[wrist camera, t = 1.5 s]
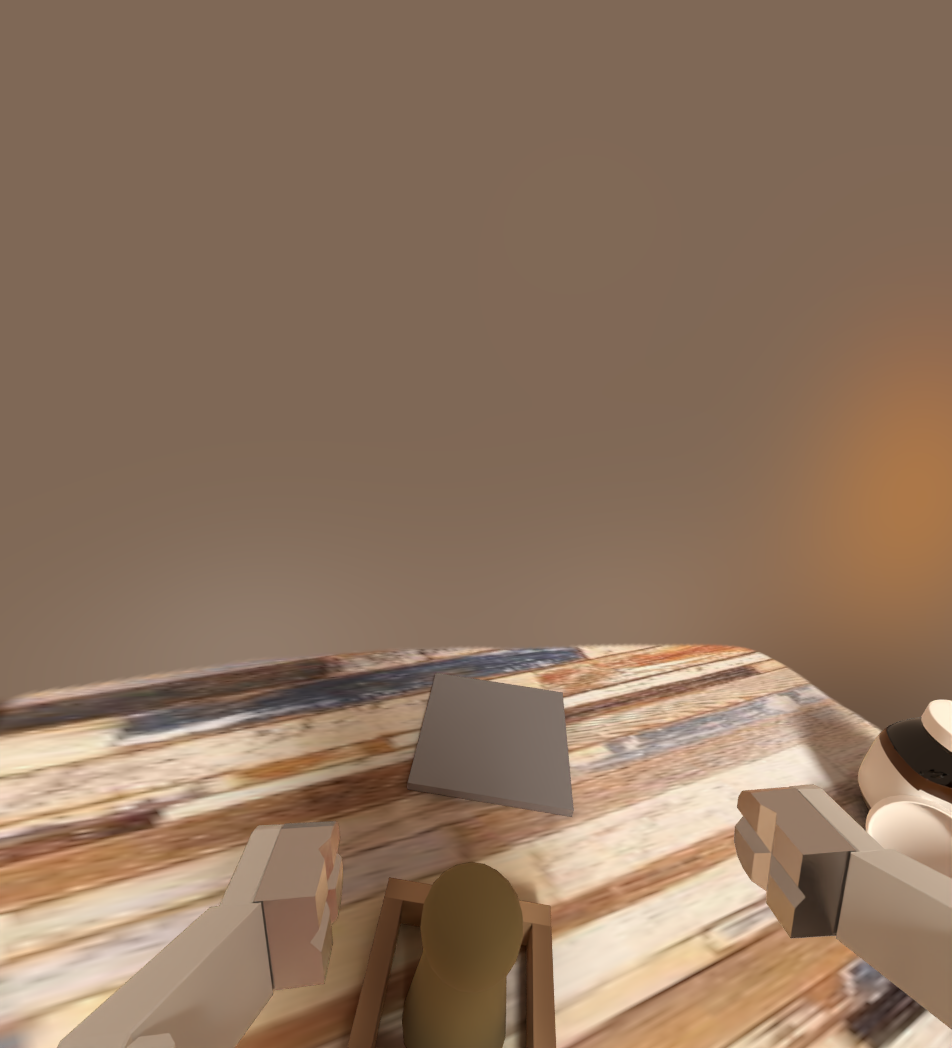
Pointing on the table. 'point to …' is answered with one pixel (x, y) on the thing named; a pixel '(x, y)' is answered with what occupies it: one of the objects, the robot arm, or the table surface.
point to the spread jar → (912, 787)
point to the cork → (464, 961)
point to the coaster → (494, 745)
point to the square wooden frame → (407, 908)
